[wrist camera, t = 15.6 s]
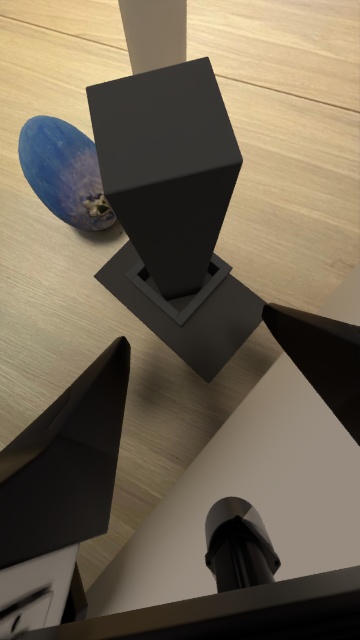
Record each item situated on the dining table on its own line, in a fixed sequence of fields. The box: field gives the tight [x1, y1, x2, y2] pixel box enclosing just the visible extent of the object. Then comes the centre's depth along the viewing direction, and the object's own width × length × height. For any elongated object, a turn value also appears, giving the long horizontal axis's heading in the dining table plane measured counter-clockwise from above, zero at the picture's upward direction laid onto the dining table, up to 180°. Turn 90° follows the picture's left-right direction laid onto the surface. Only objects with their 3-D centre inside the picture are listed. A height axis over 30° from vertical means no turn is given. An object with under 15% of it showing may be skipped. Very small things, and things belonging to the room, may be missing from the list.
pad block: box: [86, 57, 243, 301], centre depth 11 cm, size 4×4×13 cm
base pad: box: [94, 240, 267, 383], centre depth 16 cm, size 20×12×4 cm, turn 48°
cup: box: [118, 0, 187, 75], centre depth 18 cm, size 7×10×9 cm
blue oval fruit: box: [18, 115, 121, 234], centre depth 16 cm, size 9×9×15 cm
